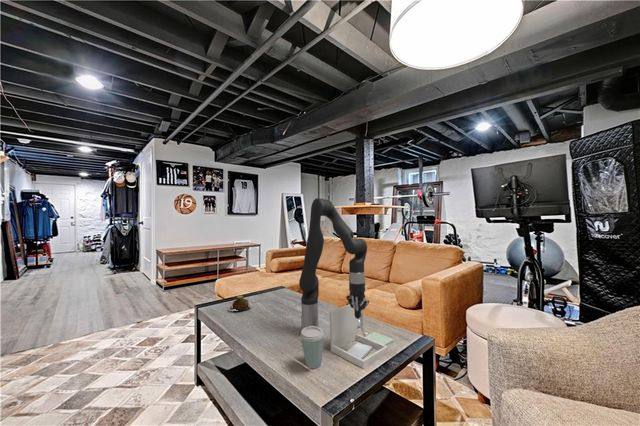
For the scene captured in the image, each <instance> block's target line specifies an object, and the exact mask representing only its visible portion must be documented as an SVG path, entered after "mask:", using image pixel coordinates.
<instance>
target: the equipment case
mask: <svg viewBox="0 0 640 426" xmlns="http://www.w3.org/2000/svg"><path fill="white" fill-rule="evenodd" d="M352 305H353V304H352ZM358 322H359V324H360V327H359V328H360V329H361V332H362V334H363V335H362V334H358V332H357V330H358V328H357V323H356V318H355V314H354V308H351V306H350V304H349V305H346V304H345V305H343V306H342V307H341V306H340V307H337V308H336V309H332V310H329V334H330V335H329V337H330V341H329V342H330V352H331V353H332V354H336V355H337V356H339V357H341V358H343V359H345V360H347V361H348V362H350V363H352V364H354V365H356V366H357V367H360V368H362V369H366V368H367V367H369V366H370V365H372V364H374V363H375V362H376V361H378V360H380V359H381V358H383V357H385V356H386V355H387V354H389V345H388V346H385V345H383V344H381V343H378V342H376V341H373V340H371V339H368V338H366V337H365V336H367V335H366V333H365V330H364V327H363V326H362V325H361V323H360V320H359V319H358ZM355 341H357V342H358V343H361V344H365V345H368V346H371V347H372V349H375V350H376V351H375V352H373V353H372V354H370V355H367V357H364V358H363V359H361V358H359V357H357V356H355V355H353V354H351V353H349V352H347V351H348V350H347V351H346V350H344V349H342V348H343V347H345V346H347V345H349V344H351V343H353V342H355Z"/></svg>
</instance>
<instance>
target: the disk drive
mask: <svg viewBox="0 0 640 426" xmlns="http://www.w3.org/2000/svg"><path fill="white" fill-rule="evenodd" d="M346 305H349V302H347V303H346V304H345V306H346ZM363 313H364V312H363V310H361V317H360V318H359V320H360V323H361V325H362V327H363V326H364V320H363V317H364V316H363ZM356 323H357V329H359V328H361V327H360V324H359V322H358V319H357V318H356Z"/></svg>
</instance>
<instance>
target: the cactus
mask: <svg viewBox="0 0 640 426" xmlns="http://www.w3.org/2000/svg"><path fill="white" fill-rule="evenodd" d="M231 305H232V306H233V309H236V310H238V311H239V312H241V311H245V310H249V309H250V307H251V306H250V304H249V300H248V299H246V298H244V295H239V296H236V299H235V300H234V301H233V302H232V304H231ZM248 305H249V306H248ZM232 306H231V307H232ZM250 310H251V309H250Z"/></svg>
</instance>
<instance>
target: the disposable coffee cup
mask: <svg viewBox="0 0 640 426" xmlns="http://www.w3.org/2000/svg"><path fill="white" fill-rule="evenodd" d="M299 337H300V339H301V346H302V351H303V357H304V361H305V364H306V367H307V368H309V369H313V370H314V369H318V368H319V367H321V365H322V360H323V359H322V358H323V351H324V350H323V348H324V339H325V332H324V331H323V329H322V328H321V327H320V326H319V327H316V326H309V327H305V328H304V329H302V328H301V331H300V334H299Z"/></svg>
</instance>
